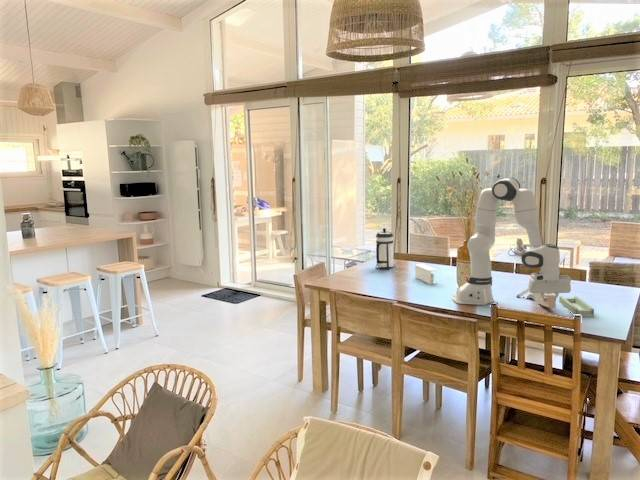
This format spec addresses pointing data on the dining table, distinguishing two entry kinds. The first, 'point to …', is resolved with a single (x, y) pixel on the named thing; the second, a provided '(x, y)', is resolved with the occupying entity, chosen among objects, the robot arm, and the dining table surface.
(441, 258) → the dining table surface
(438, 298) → the dining table surface
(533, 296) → the crown molding
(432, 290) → the dining table surface
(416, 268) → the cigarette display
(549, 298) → the tan rectangular block
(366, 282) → the dining table surface
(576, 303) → the green rectangular tray
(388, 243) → the coffee press
